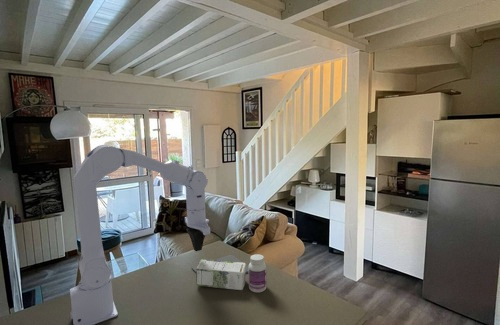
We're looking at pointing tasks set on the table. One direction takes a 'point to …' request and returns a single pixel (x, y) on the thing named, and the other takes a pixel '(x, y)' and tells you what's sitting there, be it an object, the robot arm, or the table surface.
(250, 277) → the pill bottle
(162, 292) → the table surface
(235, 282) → the syrup box
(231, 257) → the rubber mat
